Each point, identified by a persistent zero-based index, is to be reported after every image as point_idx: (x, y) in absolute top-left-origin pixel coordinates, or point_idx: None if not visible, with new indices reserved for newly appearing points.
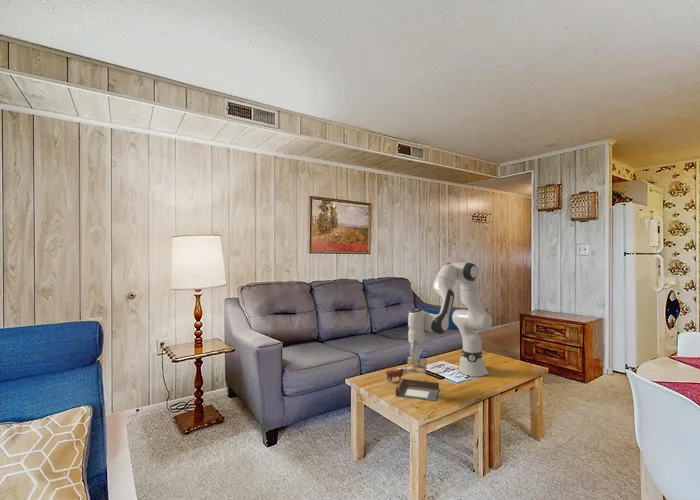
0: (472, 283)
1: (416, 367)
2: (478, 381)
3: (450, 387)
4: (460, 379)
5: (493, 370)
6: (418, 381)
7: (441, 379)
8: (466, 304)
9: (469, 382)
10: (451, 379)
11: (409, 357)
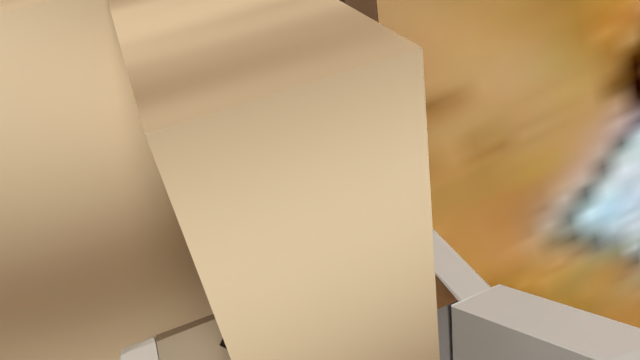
0: None
1: (186, 275)
2: (606, 317)
3: (453, 238)
4: (626, 219)
5: None
6: (343, 2)
7: (608, 96)
8: None
9: (581, 288)
10: (619, 166)
11: (376, 160)
